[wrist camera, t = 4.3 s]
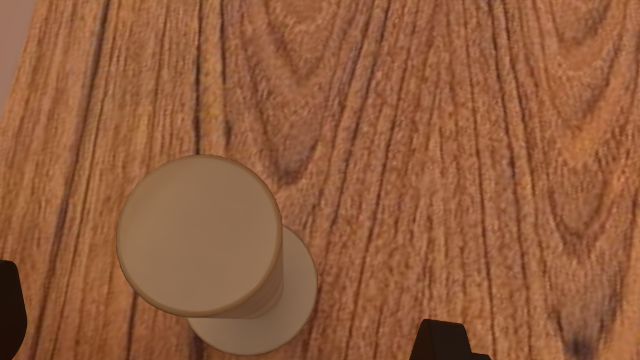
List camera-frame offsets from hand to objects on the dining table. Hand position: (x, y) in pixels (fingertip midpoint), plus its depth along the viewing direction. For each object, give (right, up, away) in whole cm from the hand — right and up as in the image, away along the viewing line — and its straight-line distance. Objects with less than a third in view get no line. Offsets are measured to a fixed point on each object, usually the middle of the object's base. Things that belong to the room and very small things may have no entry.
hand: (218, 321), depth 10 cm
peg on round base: (0, -1, +8) cm, 8 cm away
